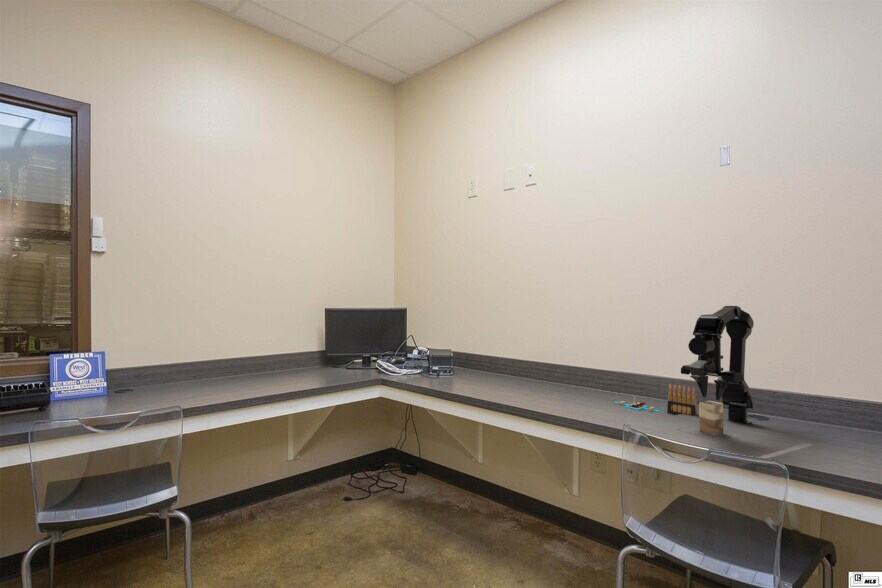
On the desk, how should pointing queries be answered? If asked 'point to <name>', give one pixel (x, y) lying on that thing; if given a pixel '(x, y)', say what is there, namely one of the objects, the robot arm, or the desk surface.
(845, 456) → the desk surface
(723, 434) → the blueprint board
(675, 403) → the ammunition clip
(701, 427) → the walnut block
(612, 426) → the desk surface
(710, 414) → the maple block
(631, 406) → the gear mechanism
